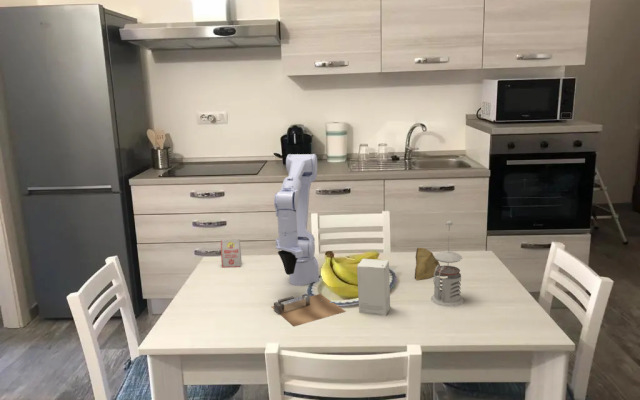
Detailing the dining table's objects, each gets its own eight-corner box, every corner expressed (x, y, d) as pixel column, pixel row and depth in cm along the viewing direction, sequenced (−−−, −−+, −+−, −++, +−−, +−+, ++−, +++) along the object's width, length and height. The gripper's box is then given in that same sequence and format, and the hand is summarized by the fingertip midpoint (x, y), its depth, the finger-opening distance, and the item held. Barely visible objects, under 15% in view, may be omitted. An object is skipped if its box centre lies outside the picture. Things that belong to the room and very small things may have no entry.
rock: (441, 262, 183) (413, 258, 184) (446, 249, 177) (417, 245, 177) (441, 289, 177) (412, 285, 177) (447, 276, 170) (416, 272, 171)
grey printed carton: (223, 264, 195) (221, 238, 193) (241, 263, 195) (239, 238, 193) (222, 267, 191) (220, 241, 189) (240, 267, 192) (238, 241, 189)
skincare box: (390, 309, 153) (390, 259, 150) (385, 319, 147) (386, 267, 144) (363, 306, 156) (362, 257, 152) (357, 316, 150) (356, 265, 146)
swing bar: (307, 302, 158) (306, 293, 157) (311, 304, 156) (311, 296, 155) (280, 310, 153) (280, 301, 152) (284, 313, 151) (284, 304, 150)
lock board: (320, 296, 164) (320, 286, 163) (346, 314, 151) (345, 303, 150) (270, 310, 155) (269, 299, 155) (292, 330, 143) (292, 318, 142)
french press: (469, 298, 159) (472, 219, 153) (450, 311, 151) (452, 228, 145) (441, 290, 166) (443, 214, 160) (421, 302, 158) (422, 223, 152)
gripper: (265, 227, 159) (268, 268, 162) (286, 239, 147) (288, 284, 150) (286, 223, 163) (288, 264, 166) (308, 234, 150) (310, 278, 154)
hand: (289, 273), depth 158 cm, fingers closed
